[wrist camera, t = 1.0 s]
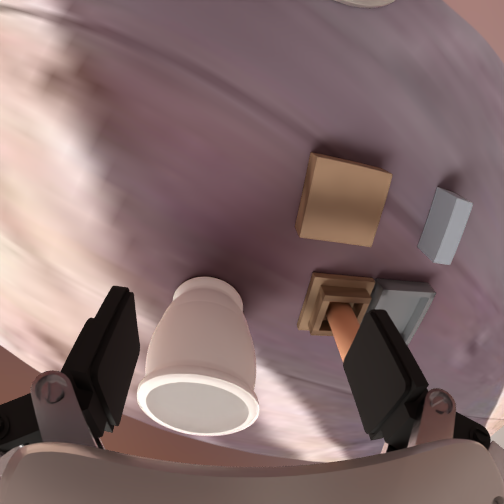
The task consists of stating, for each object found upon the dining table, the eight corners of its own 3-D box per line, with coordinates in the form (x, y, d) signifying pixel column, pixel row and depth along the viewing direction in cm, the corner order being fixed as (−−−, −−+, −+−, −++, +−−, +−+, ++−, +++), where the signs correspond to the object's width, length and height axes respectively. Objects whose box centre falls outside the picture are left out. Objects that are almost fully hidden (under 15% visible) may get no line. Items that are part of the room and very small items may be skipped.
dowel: (328, 295, 34) (354, 357, 25) (352, 297, 34) (381, 356, 25) (321, 316, 35) (342, 378, 27) (344, 317, 36) (369, 377, 27)
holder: (312, 272, 33) (318, 287, 31) (372, 277, 34) (381, 291, 32) (296, 324, 37) (300, 340, 34) (352, 326, 38) (358, 341, 35)
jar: (269, 305, 35) (285, 411, 22) (211, 347, 38) (205, 445, 25) (204, 249, 32) (185, 354, 18) (148, 301, 34) (114, 402, 21)
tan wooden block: (309, 151, 27) (317, 156, 25) (379, 167, 28) (392, 174, 26) (294, 225, 31) (299, 237, 28) (361, 234, 32) (370, 246, 29)
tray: (375, 278, 34) (383, 289, 32) (427, 282, 35) (436, 292, 33) (350, 337, 39) (355, 349, 37) (400, 336, 40) (406, 347, 38)
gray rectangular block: (437, 186, 29) (457, 197, 25) (453, 192, 29) (473, 203, 26) (417, 246, 33) (433, 262, 29) (433, 249, 33) (449, 265, 29)
